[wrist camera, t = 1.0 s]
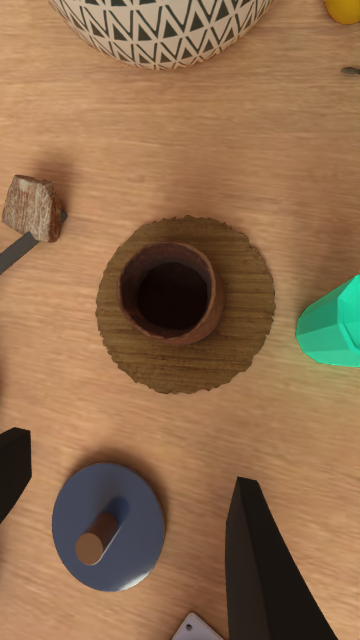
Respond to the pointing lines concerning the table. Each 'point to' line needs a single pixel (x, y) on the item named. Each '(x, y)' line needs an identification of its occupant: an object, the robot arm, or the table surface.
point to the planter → (160, 28)
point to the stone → (33, 208)
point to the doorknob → (344, 10)
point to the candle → (333, 326)
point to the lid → (108, 526)
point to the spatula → (20, 248)
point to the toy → (351, 70)
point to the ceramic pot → (185, 305)
